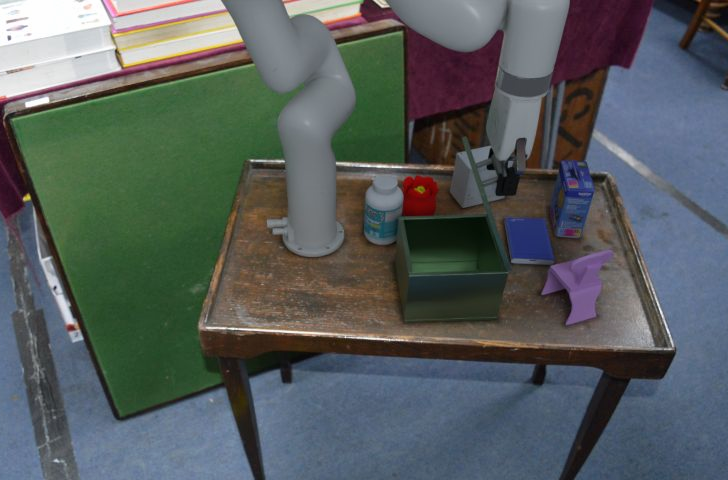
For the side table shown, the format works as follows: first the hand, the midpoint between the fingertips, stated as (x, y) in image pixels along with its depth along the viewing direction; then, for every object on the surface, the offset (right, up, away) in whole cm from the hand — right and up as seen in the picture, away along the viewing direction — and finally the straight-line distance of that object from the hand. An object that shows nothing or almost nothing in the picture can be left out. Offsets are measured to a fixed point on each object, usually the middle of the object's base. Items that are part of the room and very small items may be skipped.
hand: (500, 180), depth 106 cm
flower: (-9, -2, +33) cm, 35 cm away
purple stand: (+16, -20, +15) cm, 30 cm away
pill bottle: (-17, -7, +29) cm, 34 cm away
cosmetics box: (+5, +2, +38) cm, 38 cm away
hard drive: (+12, -9, +27) cm, 31 cm away
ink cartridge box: (+21, -4, +31) cm, 38 cm away
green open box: (-6, -18, +17) cm, 26 cm away
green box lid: (-2, -3, +3) cm, 5 cm away
